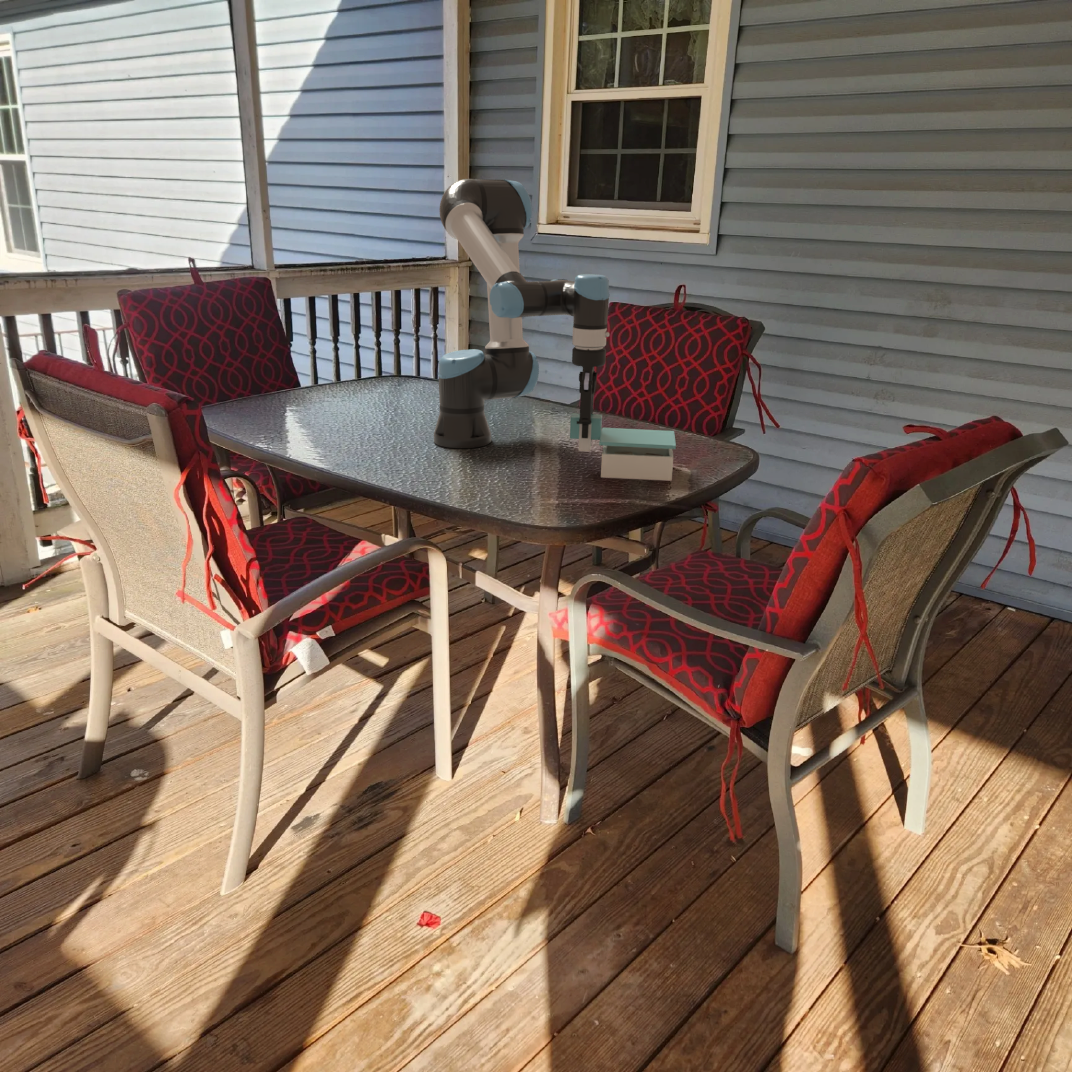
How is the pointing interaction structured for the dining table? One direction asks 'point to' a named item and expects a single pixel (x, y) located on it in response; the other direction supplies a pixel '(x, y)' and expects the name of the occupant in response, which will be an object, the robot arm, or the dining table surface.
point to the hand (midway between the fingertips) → (585, 448)
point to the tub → (637, 463)
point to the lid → (624, 435)
